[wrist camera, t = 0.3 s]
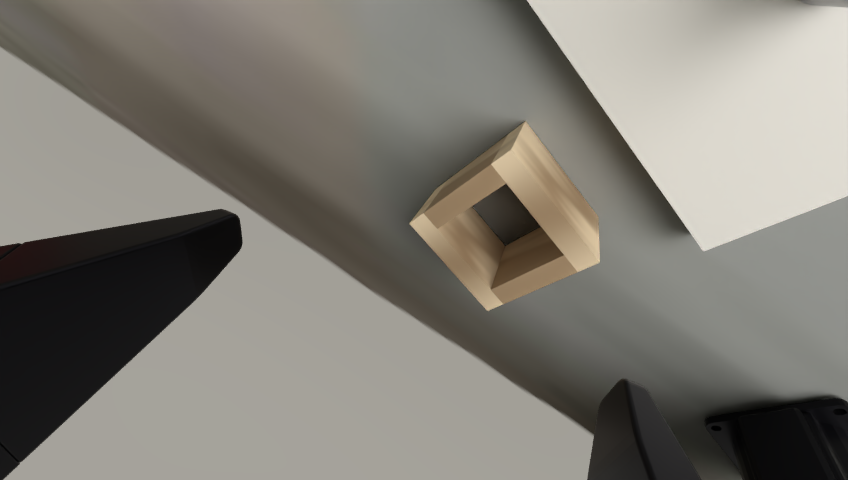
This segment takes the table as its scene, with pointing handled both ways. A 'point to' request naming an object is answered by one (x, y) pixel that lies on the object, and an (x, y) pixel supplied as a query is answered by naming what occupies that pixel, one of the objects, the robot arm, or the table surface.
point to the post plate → (720, 100)
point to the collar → (527, 256)
